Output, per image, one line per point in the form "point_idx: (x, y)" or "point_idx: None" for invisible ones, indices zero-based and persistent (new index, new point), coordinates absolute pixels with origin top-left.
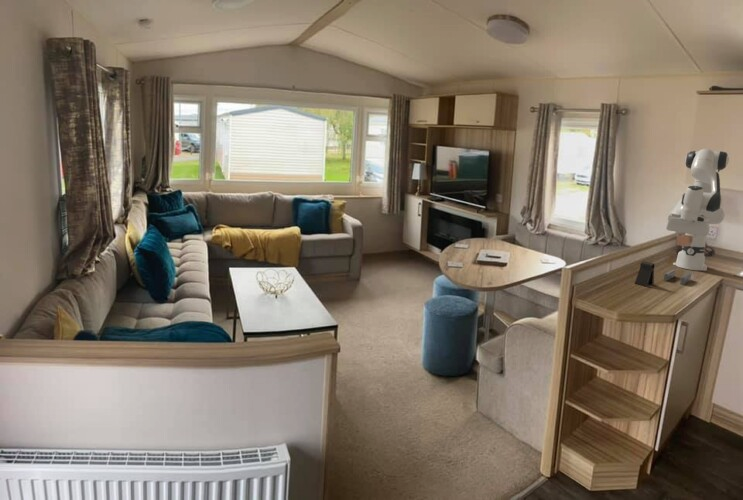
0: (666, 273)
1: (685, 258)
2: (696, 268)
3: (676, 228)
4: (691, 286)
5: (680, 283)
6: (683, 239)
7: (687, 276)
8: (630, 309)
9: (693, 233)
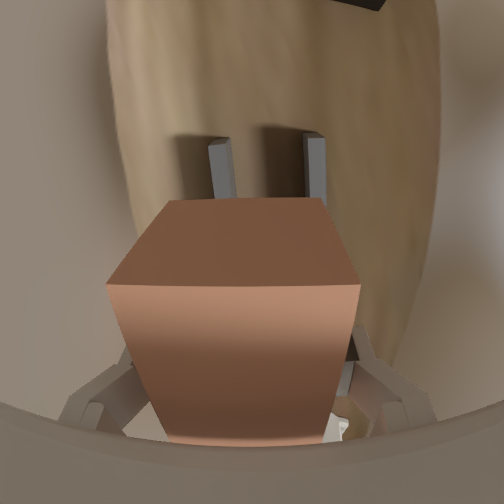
0: (319, 153)
1: None
2: None
3: (469, 476)
4: (177, 147)
5: (229, 138)
6: (222, 250)
7: None
8: None
9: (76, 438)
